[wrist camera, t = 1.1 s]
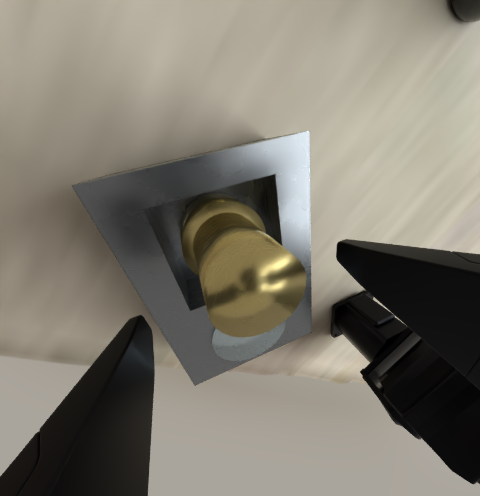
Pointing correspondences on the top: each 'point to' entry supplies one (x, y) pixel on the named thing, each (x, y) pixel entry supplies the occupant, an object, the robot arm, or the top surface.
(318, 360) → the top surface
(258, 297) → the brass cap
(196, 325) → the housing
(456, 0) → the supplement bottle
